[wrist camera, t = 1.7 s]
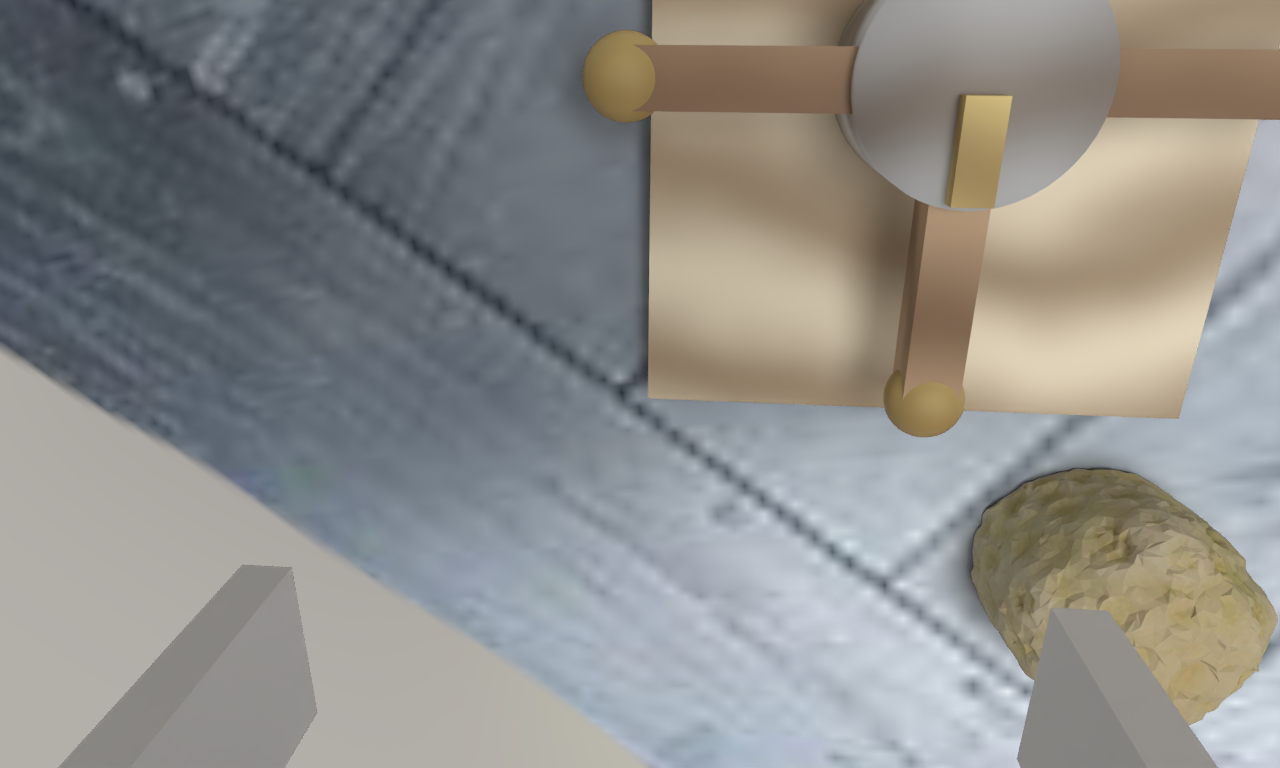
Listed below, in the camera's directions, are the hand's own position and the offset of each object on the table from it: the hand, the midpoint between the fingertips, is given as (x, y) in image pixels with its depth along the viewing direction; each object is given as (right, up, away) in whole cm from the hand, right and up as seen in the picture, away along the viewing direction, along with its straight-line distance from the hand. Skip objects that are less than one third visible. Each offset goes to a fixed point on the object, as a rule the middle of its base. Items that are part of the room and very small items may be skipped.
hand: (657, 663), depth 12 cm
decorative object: (+19, -3, +24) cm, 30 cm away
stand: (+10, +17, +16) cm, 25 cm away
